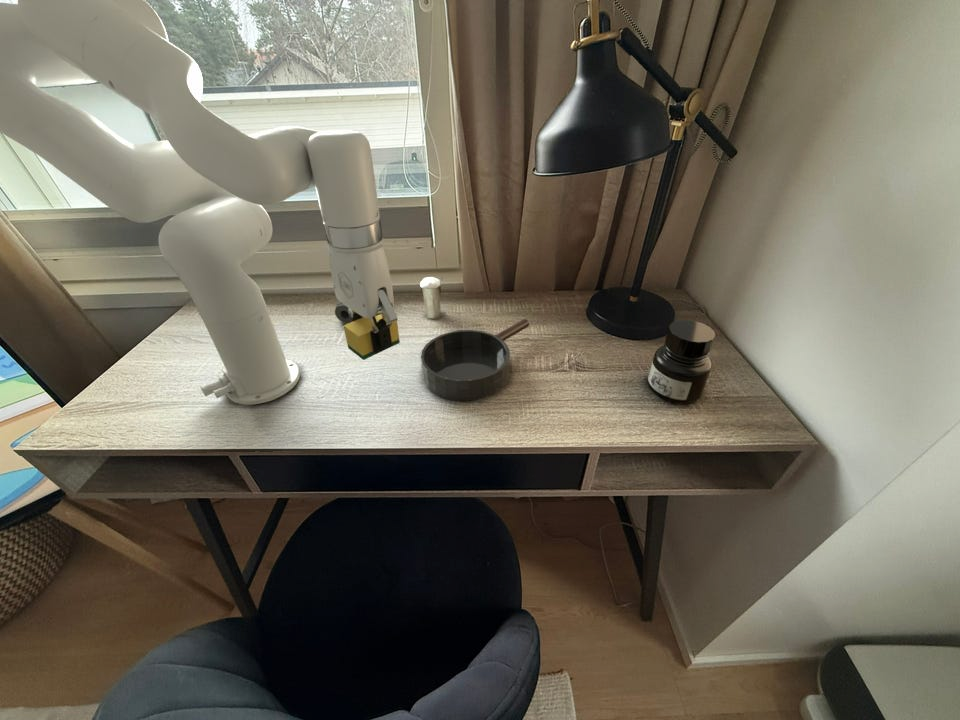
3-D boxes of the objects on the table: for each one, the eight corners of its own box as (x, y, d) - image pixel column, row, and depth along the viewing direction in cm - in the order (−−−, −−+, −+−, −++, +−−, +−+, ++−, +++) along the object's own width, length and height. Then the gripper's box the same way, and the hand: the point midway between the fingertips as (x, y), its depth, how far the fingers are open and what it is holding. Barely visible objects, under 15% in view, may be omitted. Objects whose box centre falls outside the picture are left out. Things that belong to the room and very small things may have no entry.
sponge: (363, 360, 66) (358, 336, 63) (348, 348, 69) (343, 325, 66) (400, 342, 70) (397, 320, 67) (384, 332, 73) (380, 309, 70)
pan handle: (498, 346, 82) (498, 338, 81) (492, 342, 83) (492, 335, 82) (529, 328, 87) (529, 320, 86) (522, 325, 88) (522, 317, 87)
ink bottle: (635, 379, 77) (648, 322, 70) (673, 367, 79) (690, 311, 72) (673, 412, 69) (693, 352, 62) (714, 398, 72) (738, 339, 65)
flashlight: (357, 326, 94) (352, 305, 91) (335, 324, 95) (329, 303, 92) (383, 294, 106) (379, 275, 103) (363, 293, 107) (359, 273, 104)
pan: (464, 414, 70) (462, 394, 68) (405, 373, 80) (402, 354, 77) (527, 371, 79) (528, 352, 77) (467, 339, 89) (466, 321, 86)
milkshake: (443, 321, 95) (440, 280, 89) (421, 319, 96) (416, 279, 90) (449, 311, 99) (446, 271, 93) (427, 309, 100) (422, 270, 94)
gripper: (300, 224, 61) (327, 331, 72) (364, 257, 51) (384, 375, 62) (346, 213, 65) (365, 316, 76) (413, 241, 56) (424, 354, 66)
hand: (373, 341), depth 69 cm, fingers closed on sponge, 4 cm apart
